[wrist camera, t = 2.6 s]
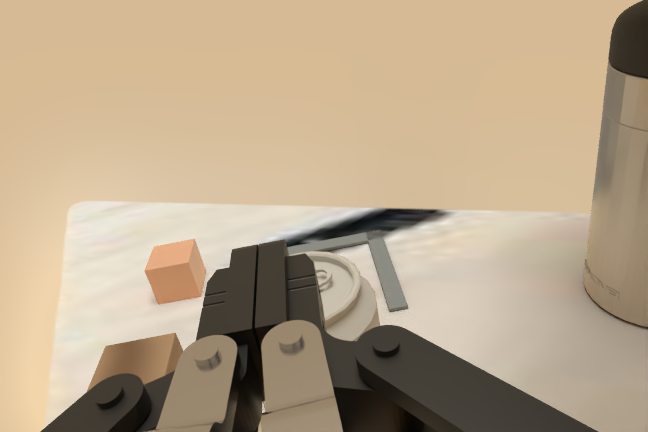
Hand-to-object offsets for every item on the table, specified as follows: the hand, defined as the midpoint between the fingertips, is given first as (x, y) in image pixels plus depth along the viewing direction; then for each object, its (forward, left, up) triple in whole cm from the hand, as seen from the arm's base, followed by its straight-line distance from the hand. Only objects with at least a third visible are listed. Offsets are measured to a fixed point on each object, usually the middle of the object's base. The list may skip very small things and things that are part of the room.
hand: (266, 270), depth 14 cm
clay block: (+13, -28, -19) cm, 36 cm away
